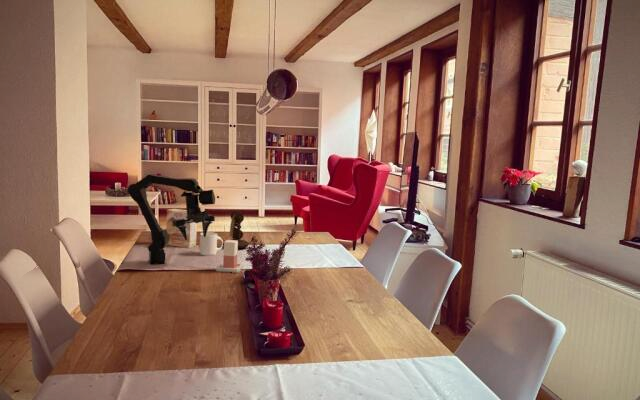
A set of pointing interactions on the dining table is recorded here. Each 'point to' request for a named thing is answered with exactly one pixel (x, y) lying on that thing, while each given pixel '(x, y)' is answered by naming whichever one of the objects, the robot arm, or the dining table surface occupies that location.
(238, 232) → the dark lumpy post
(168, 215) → the coffeecake box
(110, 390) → the dining table surface
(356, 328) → the dining table surface
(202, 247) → the mug
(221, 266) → the white tray
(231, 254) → the two tone block
